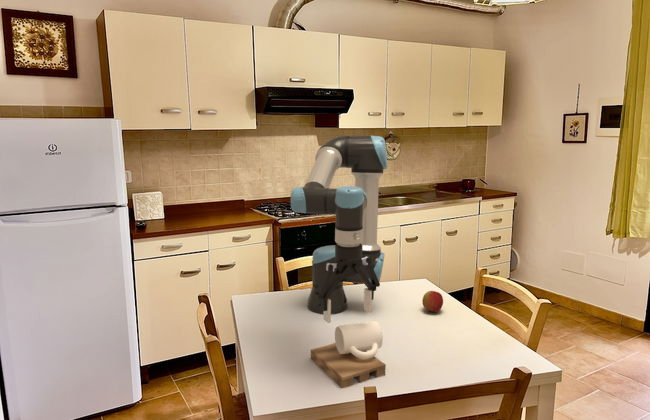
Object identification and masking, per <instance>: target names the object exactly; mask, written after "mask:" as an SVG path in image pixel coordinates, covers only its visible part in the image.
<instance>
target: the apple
mask: <svg viewBox="0 0 650 420" xmlns="http://www.w3.org/2000/svg"><path fill="white" fill-rule="evenodd" d="M443 304H444V297H443V295H442V294H441V292H438V291H435V290H428V291H427V292H426V293H424V294H423V297H422V306H423V308H424V309H426V310H428V311H430V312H432V313H438V312H439V311H440V310H441V309H442V307H443Z"/></svg>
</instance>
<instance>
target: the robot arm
mask: <svg viewBox="0 0 650 420" xmlns="http://www.w3.org/2000/svg"><path fill="white" fill-rule="evenodd" d="M314 160H315V162H314V165H313V167H312V169H311V171H310V173H309V175H308V177H307V179H306V181H305V184H304V185H303V186H299V187H294V188H292V191H291V193H290V207H291V210H292V212H294V213H300V214H301V213H302V214H320V215H321V214H325V215H335V226H334V229H335V230H334V234H335V235H334V241H335V243H336V244H335V245H333V244H332V245H325V246H320V247H317V248H316V249H315V250H314V251H313V252H312V259H311V260H312V261H311V265H312V269H311V270H312V271H311V273H312V275H311V277H312V285H311V286H312V287H311V291H310V293H309V295H308V300H307V308H308V310H310V311H311V312H314V313H317V314H322V315H323V316H322V317H323V319H322V320H323V321H325V322H327V324H330V323H331V321H332V319H331V318H332V317H331V315H333V314H339V313H342V312H344V311H346V310H347V309H348V299H347V296H346V293H345V290H344V283H355V284H363V285H364V286H365V288H363V290H364V291H363V296H364V297H363V310H364V311H365V312H367V313H369V314H370V313H372V303H373V300H374V298H375V297H374V294H375V291H377V288H380V286H381V283H380V281H381V277H382V272H383V266H384V260H385V252H383V251H382V250H381V249H382V248H381V246H380V245H379V244H378V221H379V220H378V219H379V190H380V189H379V188H380V187H379V185H380V183H379V182H380V178H381V177H382V176H383V174H384V170H386V169H388V167H389V165H388V155H387V145H386V140H385V138H384V137H383V136H377V135H339V136H336V137H334V138H331V139H329V140H328V141H326V142H324V143H323V144H322V145H321V146H320V147H319V148H318V150H317V152H316V154H315V159H314ZM340 168H341V169H343V168H346V169H350V170H351V174H352V175H353V177H354V178H355V181H354V182H355V183H354V186H352V185H350V186H349V185H346V186H339V187H337V188H330V187H331V184H332V182H333V179H334V177H335V174H336V173H337V172H336V171H338V170H339V169H340Z"/></svg>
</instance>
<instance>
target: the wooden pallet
mask: <svg viewBox="0 0 650 420" xmlns="http://www.w3.org/2000/svg"><path fill="white" fill-rule="evenodd" d="M362 352H368V350H367V351H362ZM310 360H311V361H312V362H313V363H314V364H316V365H317V366H318V367H319V368H320V369H321V370H322V371H323V372H324V373H326V375H328V377H329V378H331V379H332V380H333V381H334V382H335V383H337V385H339V386H340V387H341V388H342V389H344V388H347V387H351V386H353V378H354V379H355V380H356V381H357V382H358V383H364V382H367V381H369V380H370V374H371V375H373V376H374V377H375V378H378V377H382V376H385V375H386V369H387V368H386V365H387V364H385V363H384V362H382V361H381V360H380V359H378V358H377V357H375V356H374V357H372V358H369V359H361V358H358V357H356V356H354V355H353V354H352V353H348V354H340V353H339V352H338V350H337V347H336V343H330V344H327V345H323V346H322V345H321V346H320V347H315V348H311V349H310Z"/></svg>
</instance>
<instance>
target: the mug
mask: <svg viewBox="0 0 650 420" xmlns="http://www.w3.org/2000/svg"><path fill="white" fill-rule="evenodd" d="M383 341H384V335H383V331H382V327H381V326H380V323H379V322H378V321H376V320H373V321H372V320H371V321H365V322H357V323H352V324H351V323H350V324H344V325H338V326H336V327H335V330H334V342H335V343H336V347H337V350H338V352H339V353H340V354H348V353H352V354H353V355H354V356H356V357H358V358H361V359H369V358H372V357H375V356H376V355H377V353H378V351H379V349H381V348H382V346H383ZM362 351H367V352H362Z"/></svg>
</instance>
